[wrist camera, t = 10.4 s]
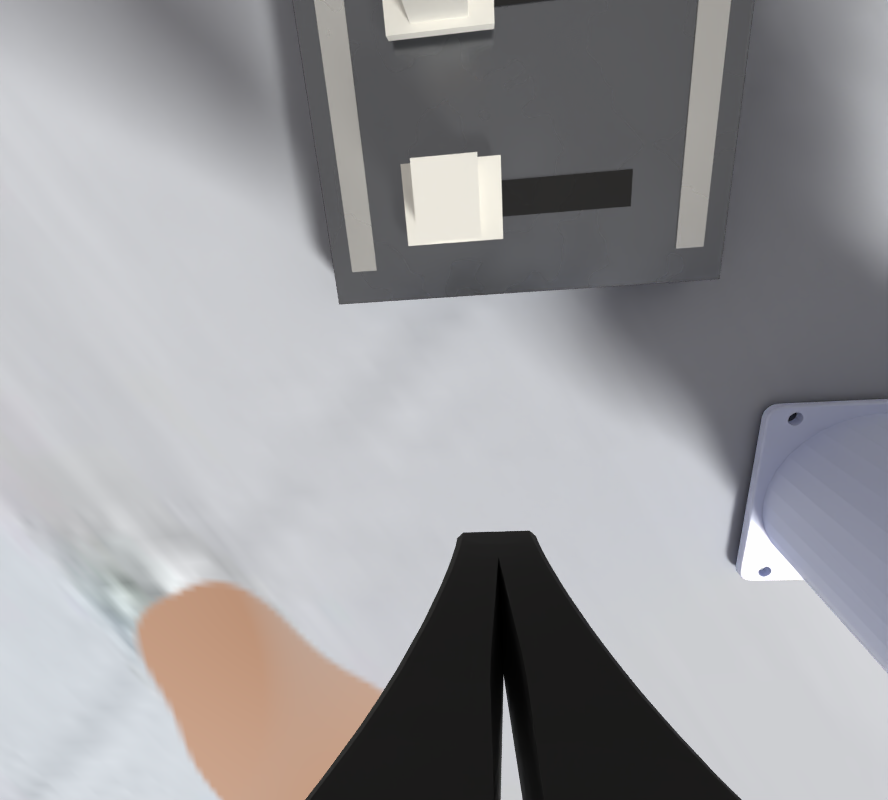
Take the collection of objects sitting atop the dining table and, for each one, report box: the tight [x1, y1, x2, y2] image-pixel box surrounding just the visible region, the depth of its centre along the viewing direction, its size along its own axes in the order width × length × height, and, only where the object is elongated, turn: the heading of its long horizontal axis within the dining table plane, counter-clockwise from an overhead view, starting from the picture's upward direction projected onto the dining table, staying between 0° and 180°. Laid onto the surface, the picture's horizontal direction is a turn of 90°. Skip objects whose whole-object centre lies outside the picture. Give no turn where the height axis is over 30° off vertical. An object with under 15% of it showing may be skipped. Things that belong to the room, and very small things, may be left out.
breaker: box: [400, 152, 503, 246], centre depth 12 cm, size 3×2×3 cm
